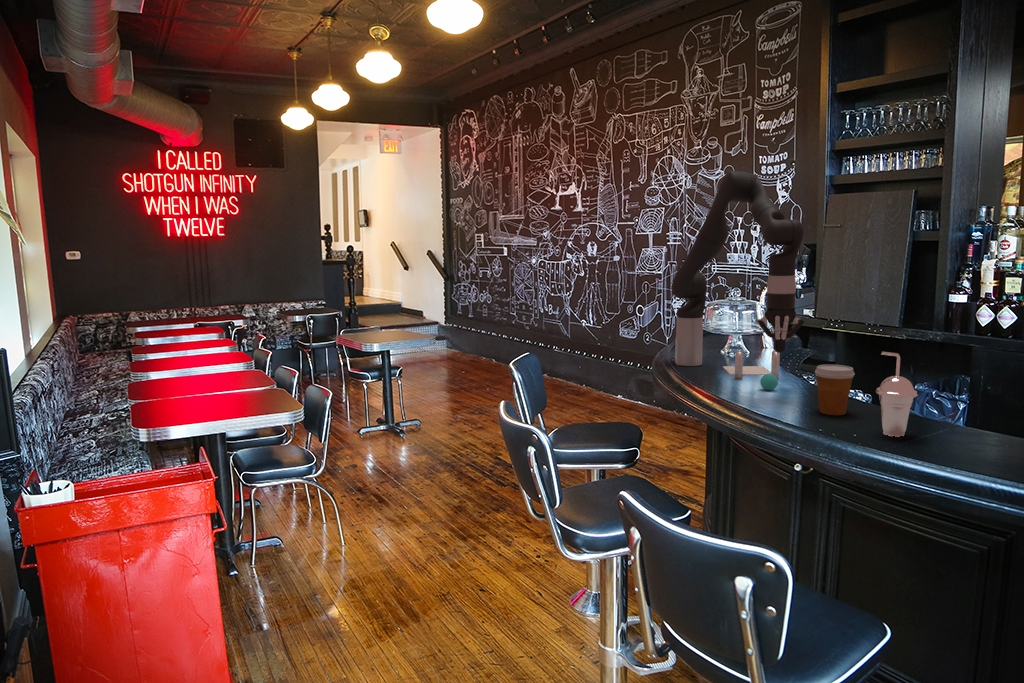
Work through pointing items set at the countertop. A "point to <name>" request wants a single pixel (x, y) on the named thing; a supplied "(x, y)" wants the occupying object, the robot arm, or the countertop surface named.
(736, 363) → the post
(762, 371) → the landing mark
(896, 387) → the cup with straw
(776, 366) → the post
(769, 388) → the ball
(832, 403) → the disposable coffee cup
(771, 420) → the countertop surface
